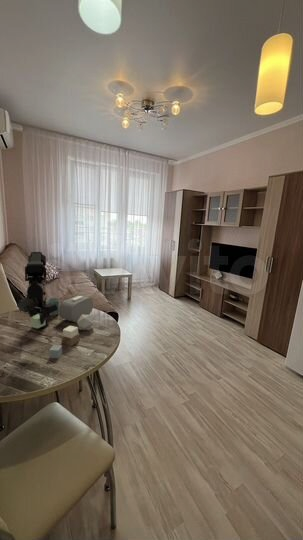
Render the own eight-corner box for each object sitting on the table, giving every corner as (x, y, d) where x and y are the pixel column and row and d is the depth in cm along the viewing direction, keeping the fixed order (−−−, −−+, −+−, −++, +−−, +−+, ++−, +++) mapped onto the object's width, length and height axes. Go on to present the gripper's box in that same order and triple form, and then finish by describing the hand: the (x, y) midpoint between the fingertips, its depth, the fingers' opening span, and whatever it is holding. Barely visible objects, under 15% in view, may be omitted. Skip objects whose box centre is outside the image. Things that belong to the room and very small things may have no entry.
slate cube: (49, 358, 98) (49, 350, 97) (53, 353, 102) (53, 345, 101) (58, 358, 98) (58, 350, 97) (62, 353, 102) (62, 345, 101)
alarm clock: (81, 310, 151) (81, 292, 148) (93, 313, 148) (93, 294, 145) (58, 322, 132) (58, 301, 129) (71, 325, 129) (71, 304, 126)
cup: (43, 315, 140) (43, 300, 138) (53, 311, 147) (52, 297, 145) (53, 318, 137) (52, 302, 135) (62, 313, 144) (62, 299, 142)
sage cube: (30, 326, 102) (29, 317, 101) (38, 322, 106) (37, 313, 105) (37, 328, 100) (37, 319, 99) (45, 324, 104) (45, 315, 104)
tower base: (61, 343, 110) (61, 336, 109) (70, 338, 115) (69, 331, 115) (71, 346, 108) (71, 339, 107) (79, 340, 113) (79, 333, 112)
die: (84, 335, 120) (95, 319, 121) (71, 326, 120) (82, 310, 122) (88, 333, 128) (99, 318, 130) (76, 324, 129) (86, 310, 130)
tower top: (63, 336, 109) (62, 329, 109) (70, 331, 114) (69, 325, 113) (71, 338, 108) (71, 331, 107) (78, 333, 112) (77, 327, 111)
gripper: (4, 292, 95) (7, 326, 99) (37, 299, 89) (39, 335, 92) (26, 286, 106) (28, 316, 109) (57, 292, 100) (58, 324, 103)
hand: (37, 323), depth 103 cm, fingers closed on sage cube, 4 cm apart
